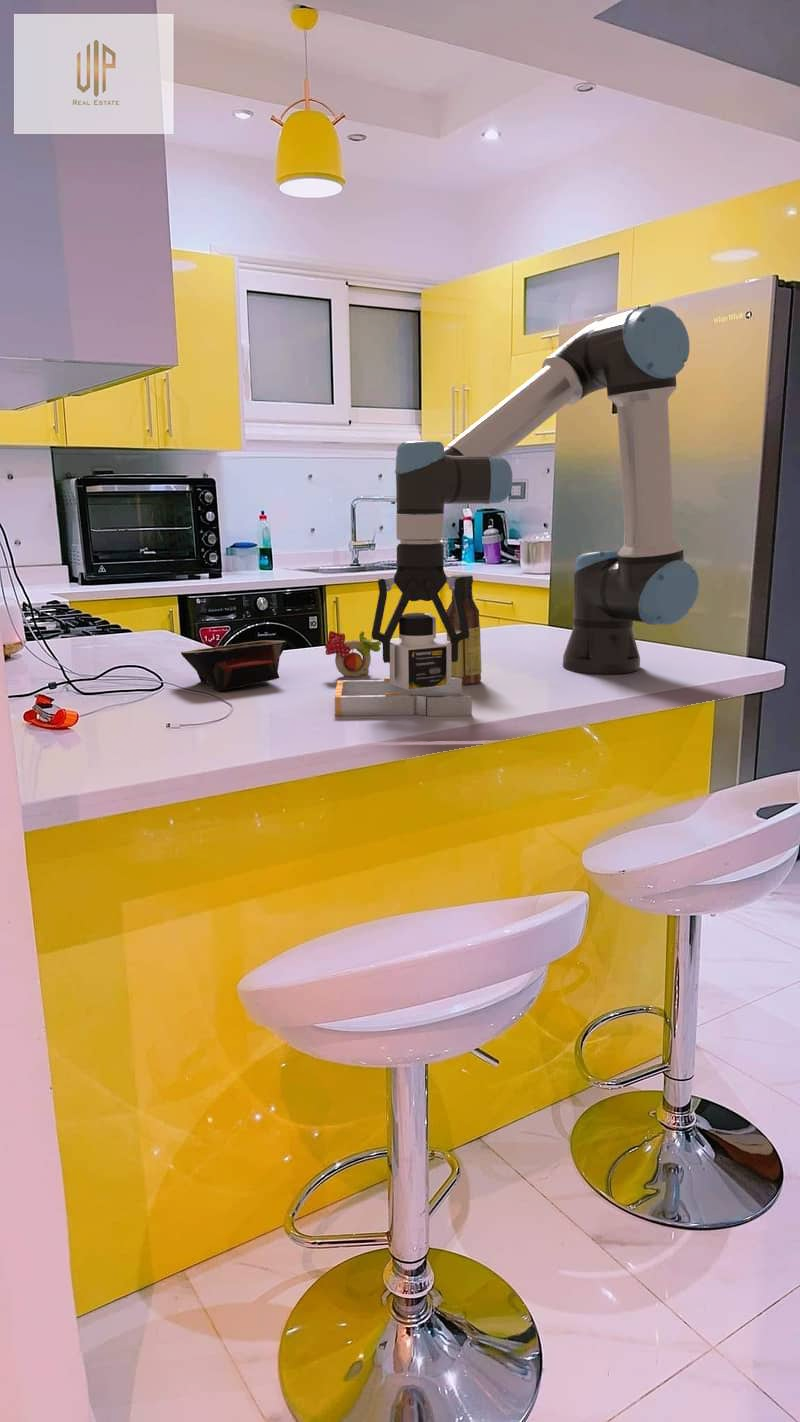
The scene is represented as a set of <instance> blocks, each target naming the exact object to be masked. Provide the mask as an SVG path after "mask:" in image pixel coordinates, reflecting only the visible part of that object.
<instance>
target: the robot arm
mask: <svg viewBox="0 0 800 1422" xmlns="http://www.w3.org/2000/svg"><path fill="white" fill-rule="evenodd" d="M689 355H690V337H689V334H688V330H687V328H686V326H685V323H684V322H683V321H682V319H681V318H680V317H678V316H677V315H676V313H675V311H673V310H672V309H670V308H668V307H665V306H661V305H652V306H645V307H643V306H641V307H640V308H633V309H631V310H629V311H626V312H622V313H619V314H616V315H612V316H609V317H605V318H604V317H603V318H601V319H597V320H596V321H593V322H592V323H590V324H588V325H587V326H585V327H584V328H582V329H581V330H580V331H578V332H577V333H576V334H575V335H573V336H572V337H571V338H569V339H568V340H567V341H566V342H565V343H563V344H562V345H561V346H560V347H559V348H557V349H556V350H555V351H554V352H553V353H551V354H550V355H549V356H547V357H546V358H545V359H544V360H543V362H542V365H541V370H539V371H538V372H537V373H536V374H534V375H533V376H532V377H531V378H529V379H528V380H527V381H526V382H524V384H522V385H521V386H519V387H518V388H517V389H516V390H515V391H513V392H512V393H511V394H510V395H508V396H507V397H506V398H505V399H503V400H502V401H501V402H500V403H498V404H497V405H496V406H495V407H493V408H492V409H491V410H489V411H488V412H487V413H486V414H485V415H483V416H482V417H481V418H479V420H477V421H476V422H475V423H473V424H472V425H471V426H470V427H468V429H466V430H465V431H463V433H460V435H458V436H457V437H456V438H455V439H453V440H452V441H451V442H450V443H449V444H448V445H446V446H445V445H444V443H442V442H441V441H434V440H414V441H413V440H411V441H404V442H401V443H400V444H399V445H398V446H397V450H396V458H395V469H394V470H395V471H394V473H395V486H396V488H395V490H396V491H395V493H396V519H395V521H396V526H395V527H396V540H397V541H399V542H400V543H398V544H397V546H396V571H395V574H394V576H391V577H390V576H389V577H386V578H385V577H379V578H378V580H377V585H378V591H379V593H378V598H377V602H376V608H375V614H374V620H373V623H372V624H373V625H372V629H371V630H372V631H371V639H372V640H374V641H380V642H381V645H382V661H383V663H384V664H385V663H386V664H387V663H389V678H390V684H395V644H394V642H395V641H391V640H392V639H393V636H394V633H395V631H396V629H397V627H398V626H399V621H400V619H401V616H402V615H404V612H405V609H406V607H407V606H408V604H409V602H418V601H424V602H431V601H432V603H433V605H434V606H433V607H434V608H435V611H436V612H437V614H438V616H439V618H440V620H441V623H442V624H443V626H444V629H445V631H446V634H447V633H448V635H449V637H450V641H447V640H445V643H444V644H445V645H446V683H451V662H457V660H458V643H459V641H461V640H463V639H467V638H468V637H469V629H468V624H467V619H466V614H465V609H464V603H463V598H462V593H461V592H462V586H463V580H462V579H461V578H460V577H456V578H454V577H451V576H447V575H446V573H445V569H444V567H445V566H444V565H445V564H444V562H445V561H444V558H445V557H444V555H445V553H444V549H445V548H444V545H443V543H441V541H443V540H444V538H445V537H444V536H445V534H444V533H445V522H444V521H445V518H444V516H445V510H444V509H445V504H446V505H453V504H454V505H455V504H459V505H460V504H461V505H465V504H466V505H467V504H468V505H471V504H472V505H473V504H477V505H478V504H480V505H481V504H482V505H484V504H485V505H489V504H500V503H502V502H504V501H506V500H507V498H508V497H509V495H510V493H511V492H512V491H511V490H512V488H513V471H512V467H511V464H510V463H509V462H508V460H507V459H505V458H504V457H503V456H505V454H507V453H508V452H510V450H512V449H513V448H514V447H515V446H517V445H518V444H519V443H520V442H521V441H523V440H524V439H526V438H527V437H528V436H530V434H531V433H532V432H534V431H535V430H536V429H538V427H540V426H542V424H543V423H545V422H546V421H547V420H548V419H550V418H551V417H552V416H554V415H555V414H556V413H557V412H558V411H559V410H561V409H562V408H564V406H566V405H575V404H577V403H578V402H579V401H581V400H582V399H583V398H584V397H587V396H588V395H589V394H592V393H594V392H596V391H599V390H603V389H606V390H607V391H606V394H607V399H608V400H610V401H611V402H612V403H613V404H614V405H615V407H616V411H617V412H616V413H617V425H618V426H617V427H618V430H617V431H618V442H619V443H618V445H619V459H620V474H621V475H620V477H621V478H620V479H621V493H622V509H623V513H622V514H623V527H624V541H625V542H624V544H623V546H622V547H621V548H620V549H618V550H617V549H616V550H605V551H604V550H603V551H594V552H586V553H581V554H580V555H578V556H577V558H576V560H575V565H574V571H573V572H574V573H573V616H572V617H573V619H572V631H571V633H570V636H569V640H568V642H567V645H566V648H565V650H564V653H563V657H562V668H563V669H565V670H569V671H572V672H577V673H584V674H585V673H586V674H598V675H599V674H601V675H602V674H603V675H605V674H606V675H613V674H614V675H615V674H616V675H617V674H618V675H619V674H628V673H634V672H637V671H639V670H641V669H640V668H641V656H640V653H639V649H638V645H637V642H636V638H635V635H634V631H633V629H634V627H633V625H634V622H638V623H644V624H647V625H651V626H657V625H660V626H661V625H663V626H668V625H673V624H677V622H680V621H681V620H682V619H683V618H685V617H686V616H687V615H688V613H689V611H690V610H691V609H692V608H693V607H694V605H695V603H696V601H697V598H698V595H699V590H700V589H699V588H700V586H699V585H700V580H699V576H698V572H697V571H696V570H695V569H694V567H693V566H692V565H691V564H690V563H688V562H686V561H685V559H684V558H685V556H684V546H683V545H682V544H681V543H680V542H679V541H678V540H676V539H675V531H674V530H675V528H674V525H675V524H674V508H673V507H674V505H673V488H672V487H673V484H672V467H671V465H672V464H671V461H672V460H671V441H670V439H671V438H670V424H669V423H670V421H669V398H670V397H671V396H672V394H673V393H674V392H675V390H676V389H677V375H678V374H679V373H680V372H681V371H682V370H683V369H684V367H685V363H686V362H688V360H689ZM394 584H395V585H396V586H397V588H398V589H399V591H400V592H401V595H400V597H399V600H398V602H397V605H396V607H395V609H394V612H393V613H392V616H391V618H390V620H389V622H388V625H387V627H386V629H385V631H384V633H382V632H381V629H382V624H383V619H384V613H385V607H386V602H387V597H388V592H390V591H391V590H392V586H393V585H394ZM445 584H447V585H448V589H449V590H450V591H451V592H452V591H453V597H454V602H455V607H456V612H457V617H458V622H459V628H460V631H459V632H457V633H456V632H455V630H454V628H453V625H452V623H451V621H450V619H449V617H448V615H447V613H446V612H447V610H446V609H445V606H444V604H443V602H442V600H441V597H440V596H439V593H440V592H441V590H442V589H443V587H444V586H445Z"/></svg>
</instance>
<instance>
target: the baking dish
mask: <svg viewBox="0 0 800 1422" xmlns="http://www.w3.org/2000/svg"><path fill="white" fill-rule="evenodd" d="M287 645H288V642H287V641H286V640H257V641H249V642H248V641H247V642H241V643H237V644H228V645H220V646H214V647H213V646H212V647H205V648H198V649H192V650H186V651H181V652H180V654H181V656H182V657H183V658H184V659H185V660H186V661H187V663H188V664H189V665H190V666H191V667H192V668H193V669H194V670H195V671H196V674H197V675H198V678H199V681H200V682H203V683H204V682H205V683H207V684H209V685H210V686H211V688H212V689H214V690H216V691H218V692H221V691H227V690H233V689H238V688H241V687H246V686H247V687H248V686H250V685H256V684H260V683H264V682H269V681H274V680H277V679H280V676H279V675H280V674H279V673H278V670H279V664H280V658H281V655H282V653H283V651H284V650H285V648H286V646H287Z"/></svg>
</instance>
